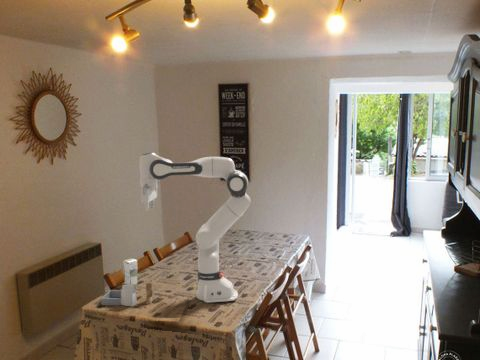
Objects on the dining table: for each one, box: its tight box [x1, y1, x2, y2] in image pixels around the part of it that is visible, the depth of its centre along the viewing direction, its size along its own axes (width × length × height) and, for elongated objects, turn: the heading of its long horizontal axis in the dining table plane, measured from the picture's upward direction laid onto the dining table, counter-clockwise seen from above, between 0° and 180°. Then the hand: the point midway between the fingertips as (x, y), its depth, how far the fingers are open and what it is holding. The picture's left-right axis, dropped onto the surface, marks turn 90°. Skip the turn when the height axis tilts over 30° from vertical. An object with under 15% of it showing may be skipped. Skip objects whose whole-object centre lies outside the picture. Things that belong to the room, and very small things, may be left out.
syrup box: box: [123, 258, 139, 286], centre depth 246 cm, size 6×6×14 cm
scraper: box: [145, 281, 155, 305], centre depth 220 cm, size 3×7×10 cm, turn 177°
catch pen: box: [100, 289, 122, 306], centre depth 221 cm, size 10×12×4 cm
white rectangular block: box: [120, 284, 138, 307], centre depth 216 cm, size 4×7×10 cm, turn 72°
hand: (149, 209), depth 225 cm, fingers open, 8 cm apart
